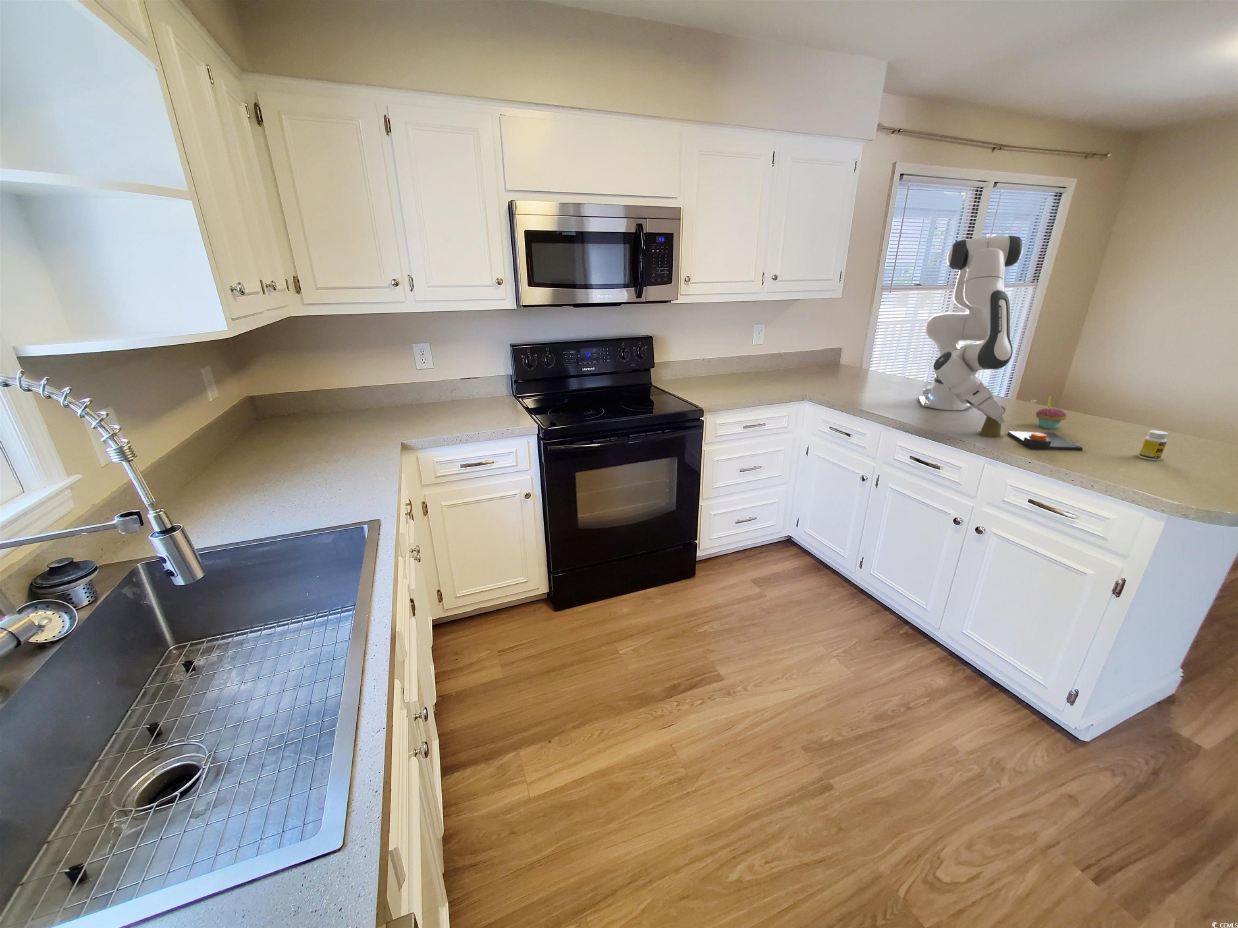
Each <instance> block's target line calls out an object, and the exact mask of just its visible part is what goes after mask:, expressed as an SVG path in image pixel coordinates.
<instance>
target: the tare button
mask: <svg viewBox="0 0 1238 928" xmlns="http://www.w3.org/2000/svg"><path fill="white" fill-rule="evenodd" d="M1033 432H1034V433H1031V437H1030V438H1031V439H1034V440H1046V437H1047V435H1046V434H1044V433H1037V432H1038V431H1033Z"/></svg>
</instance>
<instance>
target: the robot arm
mask: <svg viewBox="0 0 1238 928" xmlns="http://www.w3.org/2000/svg"><path fill="white" fill-rule="evenodd" d="M1023 252H1024V243H1023V239H1022V237H1020V236H1017V235H1008V236H1004V235H992V236H990V235H989V236H984V237H983V236H982V237H976V238H969V239H959V240H957V241H955V242H953V244H951V247H950V249H949V250H948V253H947V256H946V262H947V265H948V268H949V269H950V270H952V271H958V275H957V278H956V282H955V287H954V290H953V291H954V292H953V296H952V298H953V301H954V304H956V305H957V306H959V307H961V308H963V309H965V310H967V311H968V312H946V313H939V314H935V315H932V316H931V317H930V318H929V319H928V320H927V322H926V324H925V333H926V336H927V337H928V338H929V339H930V340H931V341H932V342H934V344H935V345H936V347H937V349H938V352H939V357H938V358H936V360H935V361H934V363H933V367H932V368H933V371H934V373H935V376H934V379H933V381H932V383H930V384H929V385H928V386H927V387H926V388H923V391H922V394H923V395H924V396H919V397H918V398H917V399H918V401H919V403H920V406H921V407H925V408H931V409H936V410H942V411H963V410H966V409H969V408H971V407H972V408H974V409H975V410H977V411H979V412H981V413H982V414H983V415H984V416H986V417H987V415H988V416H989V417H991V418H993V419H995V420H996V421H997V422H998V423H999V424H1001V425H1002V424H1004V423H1005V422H1006V419H1004V418H1003V415H1004V414H1005V413H1004V410H1003V409H1002V407H1001V406H1002V405H1001V404H1000V403H999V401H998V400H997V399H996V398H995V397H994V396H993V395H994V393H993V392H992V391H991V389H989V388H988V386H987V385H986V384H985V383H984V382H983V381H982V380H981V379H980V378H979V377H978V375H977V373H978V372H979V371H984V370H999V369H1002V368H1004V367H1005V366H1007V365H1008V364H1009V362H1010V361H1011V359H1012V358H1013V353H1014V350H1013V349H1014V348H1013V345H1012V339H1011V316H1010V315H1011V308H1010V307H1011V306H1010V305H1011V304H1010V297H1009V295H1008V294H1007V292H1005V288H1004V284H1005V283H1004V282H1005V272H1006V268H1009V267H1013V266H1015V265H1016V264H1017V263H1018V262H1019V260H1020V259H1021V257H1022V255H1023ZM958 342H972V343H968V344H967V343H966V344H964V345H961V346H960V347H959V346H958ZM1000 405H1001V406H1000Z"/></svg>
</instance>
